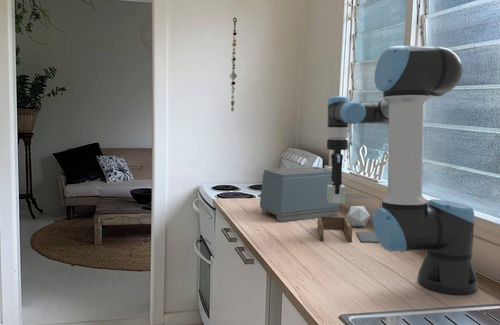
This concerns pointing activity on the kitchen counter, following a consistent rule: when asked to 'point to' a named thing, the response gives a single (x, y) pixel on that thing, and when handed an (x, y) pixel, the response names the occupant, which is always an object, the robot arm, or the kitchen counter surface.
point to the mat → (367, 237)
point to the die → (358, 216)
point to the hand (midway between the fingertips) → (335, 200)
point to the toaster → (297, 193)
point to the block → (330, 194)
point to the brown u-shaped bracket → (334, 225)
